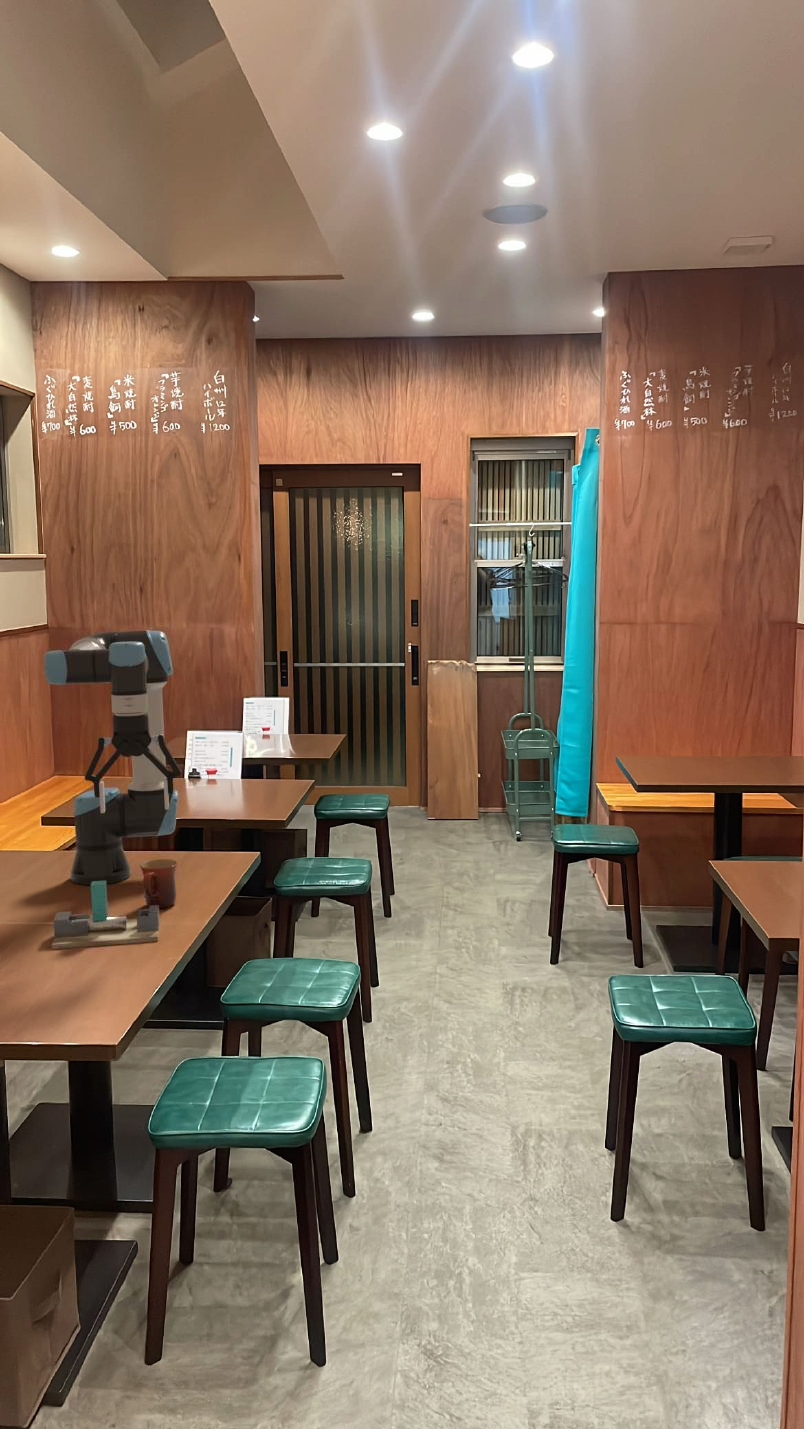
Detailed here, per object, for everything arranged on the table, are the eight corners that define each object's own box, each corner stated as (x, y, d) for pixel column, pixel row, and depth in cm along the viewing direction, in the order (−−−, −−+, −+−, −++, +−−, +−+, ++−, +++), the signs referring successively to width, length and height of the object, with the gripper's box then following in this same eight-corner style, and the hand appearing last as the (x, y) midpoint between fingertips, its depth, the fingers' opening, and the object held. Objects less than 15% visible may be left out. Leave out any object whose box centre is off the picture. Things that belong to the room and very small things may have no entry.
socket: (139, 923, 241) (138, 906, 240) (159, 922, 242) (158, 904, 241) (137, 932, 235) (136, 914, 234) (158, 930, 236) (157, 913, 235)
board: (60, 928, 242) (60, 923, 242) (160, 921, 246) (160, 916, 246) (52, 949, 228) (52, 944, 228) (157, 941, 232) (157, 936, 232)
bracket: (58, 929, 238) (57, 912, 237) (90, 927, 239) (89, 910, 238) (54, 938, 232) (53, 920, 232) (88, 935, 233) (87, 918, 233)
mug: (151, 898, 263) (149, 858, 262) (185, 900, 261) (183, 859, 260) (129, 914, 251) (127, 871, 250) (164, 915, 250) (162, 873, 248)
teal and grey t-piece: (57, 931, 236) (54, 883, 235) (127, 926, 239) (124, 879, 238) (55, 935, 233) (52, 887, 232) (126, 930, 236) (123, 883, 235)
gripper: (68, 718, 225) (73, 816, 228) (188, 713, 229) (193, 810, 232) (72, 713, 232) (77, 809, 235) (189, 709, 237) (193, 803, 239)
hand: (135, 810), depth 234 cm, fingers open, 13 cm apart
